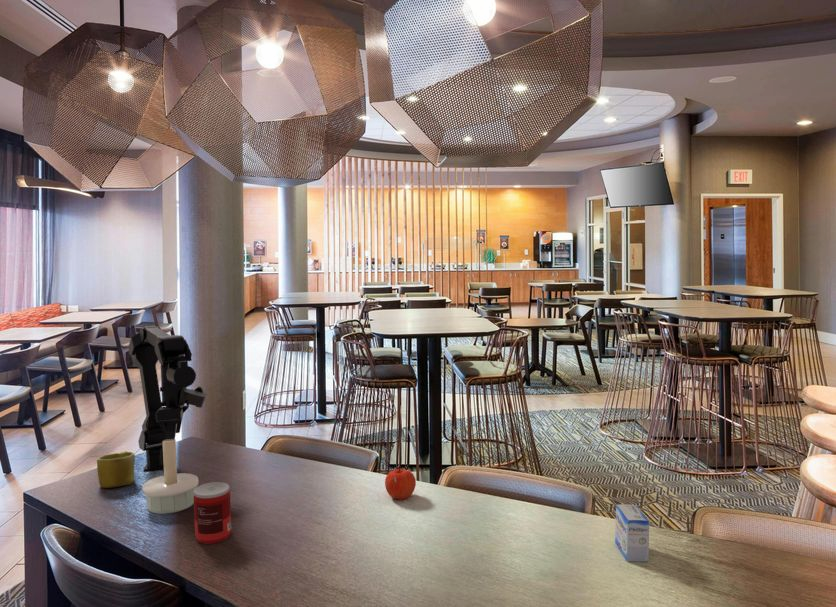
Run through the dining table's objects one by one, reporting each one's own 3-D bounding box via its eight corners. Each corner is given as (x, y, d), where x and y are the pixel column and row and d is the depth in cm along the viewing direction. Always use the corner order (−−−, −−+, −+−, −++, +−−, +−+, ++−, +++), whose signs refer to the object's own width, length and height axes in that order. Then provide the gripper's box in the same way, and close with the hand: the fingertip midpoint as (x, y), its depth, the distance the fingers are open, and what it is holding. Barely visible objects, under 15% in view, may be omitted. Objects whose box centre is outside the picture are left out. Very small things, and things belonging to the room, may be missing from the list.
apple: (409, 505, 145) (408, 473, 145) (379, 500, 148) (379, 470, 148) (420, 493, 153) (420, 463, 152) (392, 489, 156) (392, 460, 155)
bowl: (152, 498, 151) (151, 481, 151) (197, 493, 154) (196, 477, 154) (143, 516, 141) (142, 498, 141) (191, 510, 143) (191, 493, 143)
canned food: (221, 525, 136) (219, 479, 135) (238, 536, 130) (236, 488, 129) (189, 536, 130) (187, 488, 129) (204, 548, 125) (202, 498, 124)
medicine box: (614, 543, 124) (615, 503, 124) (635, 543, 124) (636, 503, 124) (626, 562, 117) (627, 520, 116) (649, 562, 116) (649, 520, 116)
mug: (128, 485, 156) (119, 448, 157) (93, 496, 156) (84, 460, 158) (152, 477, 168) (144, 443, 170) (120, 487, 169) (111, 454, 170)
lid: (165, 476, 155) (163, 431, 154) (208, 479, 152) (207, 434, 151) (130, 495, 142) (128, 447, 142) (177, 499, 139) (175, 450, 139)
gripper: (199, 386, 153) (201, 445, 154) (207, 373, 171) (209, 426, 172) (153, 389, 150) (156, 448, 151) (166, 376, 168) (168, 429, 169)
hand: (175, 437), depth 161 cm, fingers open, 9 cm apart
